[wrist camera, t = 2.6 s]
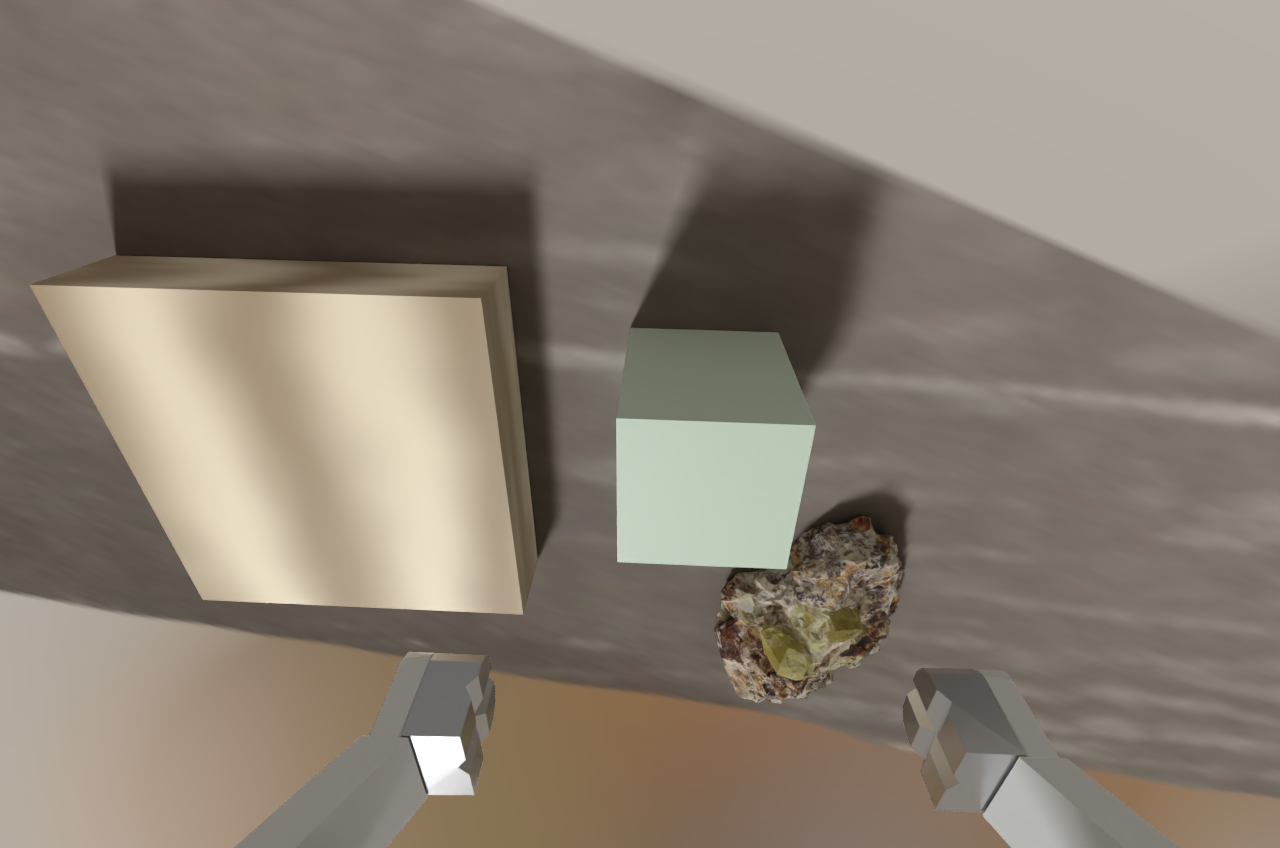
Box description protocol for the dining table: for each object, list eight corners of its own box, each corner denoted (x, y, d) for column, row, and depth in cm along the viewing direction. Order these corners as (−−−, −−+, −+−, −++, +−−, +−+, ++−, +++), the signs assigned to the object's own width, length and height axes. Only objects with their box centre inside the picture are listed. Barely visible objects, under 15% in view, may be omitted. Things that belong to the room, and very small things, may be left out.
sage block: (778, 331, 20) (815, 425, 15) (759, 453, 22) (786, 569, 17) (630, 326, 20) (616, 418, 15) (629, 448, 22) (617, 562, 17)
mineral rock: (846, 729, 28) (701, 734, 25) (805, 650, 31) (673, 645, 28) (990, 577, 23) (830, 559, 20) (922, 502, 26) (777, 477, 23)
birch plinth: (506, 266, 19) (480, 298, 16) (537, 559, 26) (523, 614, 23) (114, 255, 19) (29, 284, 17) (248, 547, 26) (202, 599, 23)
